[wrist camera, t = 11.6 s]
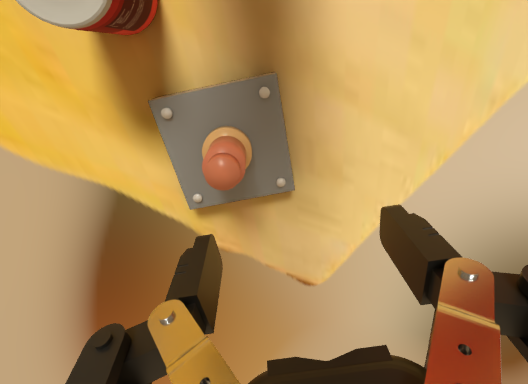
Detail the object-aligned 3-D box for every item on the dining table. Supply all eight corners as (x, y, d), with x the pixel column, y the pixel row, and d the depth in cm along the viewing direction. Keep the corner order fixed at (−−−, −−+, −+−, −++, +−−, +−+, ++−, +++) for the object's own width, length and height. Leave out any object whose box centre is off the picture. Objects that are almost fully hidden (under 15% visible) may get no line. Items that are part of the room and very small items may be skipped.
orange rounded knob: (203, 139, 31) (193, 158, 26) (241, 132, 31) (238, 149, 26) (214, 174, 33) (206, 198, 28) (250, 167, 33) (249, 190, 28)
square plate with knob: (155, 97, 33) (142, 103, 29) (274, 71, 32) (277, 74, 28) (193, 200, 40) (187, 215, 36) (292, 182, 39) (296, 195, 35)
